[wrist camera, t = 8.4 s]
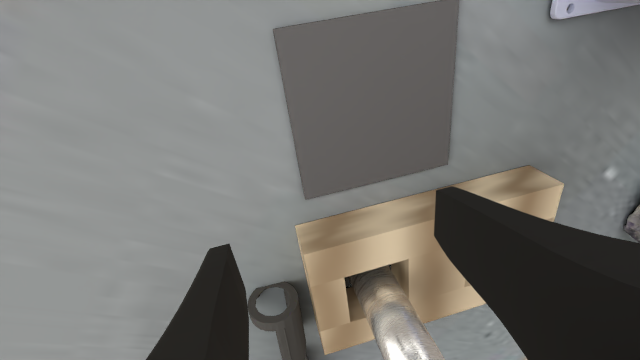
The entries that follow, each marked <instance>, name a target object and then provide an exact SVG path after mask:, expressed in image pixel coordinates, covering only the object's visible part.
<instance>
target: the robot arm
mask: <svg viewBox="0 0 640 360" xmlns="http://www.w3.org/2000/svg"><path fill="white" fill-rule="evenodd" d="M639 4H640V0H552V6H551V11H550V15H551V18H553V19H566V18H571V17H576V16H581V15H587V14H592V13H597V12H602V11H608V10H613V9H618V8H623V7H629V6H634V5H639ZM567 7H568V10H567ZM434 237H435V239H436V240H437V242H438V243H439V245H440V247H441V248H442V250H443V251H444V253H445V254H446V256H447V257H448V259H449V260H450V261H451V262H452V264H453V265H454V266H455V267H456V268H457V270H458V271H459V272H460V273H461V274H462V276H463V277H464V278H465V279H466V280H467V281H468V283H469V284H470V285H471V286H472V287H473V288H474V290H475V291H476V292H477V293H478V294H479V295H480V297H481V298H482V299H483V300H484V301H485V302H486V303H487V305H488V306H489V307H490V308H491V309H492V310H493V312H494V313H495V314H496V316H497V317H498V318H499V319H500V321H501V322H502V323H503V325H504V326H505V327H506V329H507V330H508V332H509V333H510V334H511V336H512V337H513V339H514V340H515V342H516V343H517V344H518V346H519V347H520V349H521V350H522V352H523V353H524V355H525V356H526V358H527V359H528V360H640V243H636V242H631V241H626V240H621V239H616V238H611V237H607V236H603V235H598V234H594V233H591V232H587V231H583V230H579V229H575V228H572V227H568V226H565V225H561V224H558V223H554V222H551V221H548V220H545V219H542V218H539V217H536V216H533V215H530V214H527V213H524V212H522V211H519V210H516V209H513V208H511V207H508V206H505V205H503V204H500V203H497V202H495V201H492V200H489V199H487V198H484V197H482V196H479V195H476V194H474V193H471V192H468V191H466V190H463V189H460V188H457V187H454V186H450V187H446V188H442V189H438V190H436V201H435V221H434ZM146 360H249V317H248V307H247V299H246V291H245V286H244V284H243V281H242V278H241V275H240V272H239V270H238V267H237V264H236V261H235V258H234V256H233V253H232V250H231V247H230V244H226V245H222V246H218V247H214V248H210V249H209V251H208V252H207V254H206V256H205V259H204V261H203V263H202V265H201V267H200V269H199V271H198V273H197V275H196V277H195V279H194V281H193V283H192V285H191V287H190V289H189V291H188V292H187V294H186V296H185V298H184V300H183V302H182V304H181V305H180V307H179V309H178V311H177V312H176V314H175V315H174V317H173V319H172V320H171V322H170V324H169V325H168V327H167V329H166V330H165V332H164V334H163V335H162V337H161V338H160V340H159V341H158V343H157V344H156V346H155V347H154V349H153V350H152V352H151V353H150V354H149V356H148V357H147V359H146Z"/></svg>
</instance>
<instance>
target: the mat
mask: <svg viewBox="0 0 640 360" xmlns="http://www.w3.org/2000/svg"><path fill="white" fill-rule="evenodd" d="M458 9H459V0H440V1H435V2H429V3H423V4H417V5H411V6H405V7H399V8H394V9H388V10H382V11H376V12H370V13H364V14H358V15H352V16H347V17H341V18H335V19H329V20H323V21H317V22H311V23H306V24H300V25H294V26H288V27H282V28H276V29H273V32H274V38H275V43H276V48H277V53H278V59H279V64H280V69H281V75H282V80H283V85H284V90H285V96H286V101H287V106H288V112H289V117H290V122H291V127H292V133H293V138H294V143H295V149H296V154H297V159H298V164H299V170H300V175H301V180H302V186H303V191H304V196H305V199H306V200H307V199H311V198H315V197H319V196H323V195H327V194H331V193H335V192H339V191H343V190H347V189H351V188H355V187H359V186H363V185H367V184H371V183H375V182H379V181H383V180H387V179H391V178H395V177H399V176H403V175H407V174H411V173H415V172H419V171H423V170H427V169H431V168H436V167H440V166H444V165H448V158H449V144H450V129H451V114H452V99H453V84H454V69H455V54H456V39H457V24H458Z"/></svg>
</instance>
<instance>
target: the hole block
mask: <svg viewBox="0 0 640 360" xmlns="http://www.w3.org/2000/svg"><path fill="white" fill-rule="evenodd" d="M451 186H454V187H457V188H460V189H463V190H466V191H468V192H471V193H474V194H476V195H479V196H482V197H484V198H487V199H489V200H492V201H495V202H497V203H500V204H503V205H505V206H508V207H511V208H513V209H516V210H519V211H522V212H524V213H527V214H530V215H533V216H536V217H539V218H542V219H545V220H548V221H551V222H554V219H555V216H556V212H557V208H558V205H559V201H560V197H561V194H562V190H563V186H564V184H563V183H561V182H560V181H558V180H556V179H554V178H552V177H550V176H548V175H547V174H545V173H543V172H541V171H539V170H537V169H535V168H534V167H532V166H530V165H528V166H524V167H520V168H516V169H512V170H509V171H505V172H501V173H497V174H493V175H489V176H485V177H482V178H478V179H474V180H470V181H466V182H462V183H458V184H454V185H451ZM447 187H450V186H447ZM443 188H446V187H443ZM439 189H442V188H439ZM436 190H438V189H435V190H431V191H427V192H423V193H420V194H416V195H412V196H408V197H404V198H400V199H396V200H393V201H389V202H385V203H381V204H377V205H373V206H369V207H365V208H362V209H358V210H354V211H350V212H346V213H342V214H338V215H334V216H331V217H327V218H323V219H319V220H315V221H311V222H307V223H304V224H300V225H296V226H295V228H296V233H297V237H298V242H299V246H300V251H301V256H302V260H303V265H304V269H305V274H306V278H307V283H308V288H309V292H310V297H311V301H312V306H313V311H314V315H315V320H316V324H317V327H318V331H319V335H320V339H321V342H322V346H323V350H324V353H325V355H327V354H330V353H333V352H336V351H339V350H342V349H346V348H349V347H352V346H355V345H358V344H361V343H364V342H367V341H371V340H374V339H375V337H374V335H373V333H372V330H371V328H370V326H369V324H368V321H367V319H366V317H365V314H364V312H363V310H362V307H361V305H360V303H359V300H358V298H357V296H356V294H355V291H354V289H353V287H350V288H347V289H346V286H345V279H344V277H348V276H351V275H355V274H358V273H362V272H365V271H369V270H372V269H376V268H379V267H383V266H386V265H390V264H391V271H392V273H393V274H394V276H395V278H396V279H397V281H398V283H399V284H400V286H401V288H402V289H403V291H404V293H405V294H406V296H407V297H408V299H409V301H410V302H411V304H412V306H413V307H414V309H415V311H416V312H417V314H418V316H419V317H420V319H421V321H422V322H423V324H424V323H427V322H430V321H433V320H436V319H439V318H443V317H446V316H449V315H452V314H455V313H458V312H461V311H464V310H468V309H471V308H474V307H477V306H480V305H483V304H486V302H485V301H484V300H483V299H482V298H481V297H480V295H479V294H478V293H477V292H476V291H475V290H474V288H473V287H472V286H471V285H470V284H469V283H468V281H467V280H466V279H465V278H464V277H463V276H462V274H461V273H460V272H459V271H458V270H457V268H456V267H455V266H454V265H453V264H452V262H451V261H450V260H449V259H448V257H447V256H446V254H445V253H444V251H443V250H442V248H441V247H440V245H439V243H438V242H437V240H436V239H435V237H434V221H435V201H436Z"/></svg>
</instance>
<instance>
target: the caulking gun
mask: <svg viewBox="0 0 640 360" xmlns="http://www.w3.org/2000/svg"><path fill="white" fill-rule="evenodd" d="M270 287H279V288H283V289H284V294H285V299H286V304H287V309H286V310H285V311H284V312H283V313H282V314H280V315H277V316H265V315H263V314H261V313H259V312H258V310H257V308H256V307H255V306H256V299H257V298H258V297H259V296H260V293H261V292H262V291H263V290H265V289H267V288H270ZM248 311H249V315H250V318H251V320H252V322H253V324H254V325H255V326H256V327H258V328H259V329H262V330H265V331H276V335H277V339H278V343H279V347H280V351H281V356H282V360H308V358H307V356H306V339H305V333H304V327H303V322H302V316H301V310H300V304H299V299H298V294H297V291H296V290H295V288H294V287H293V286H292V285H290V284H288V283H286V282H281V283H276V284H272V285H268V286H264V287H260V288H256V290H255V291H254V292H253V293H252V294H251V296H250V298H249V300H248Z"/></svg>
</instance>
